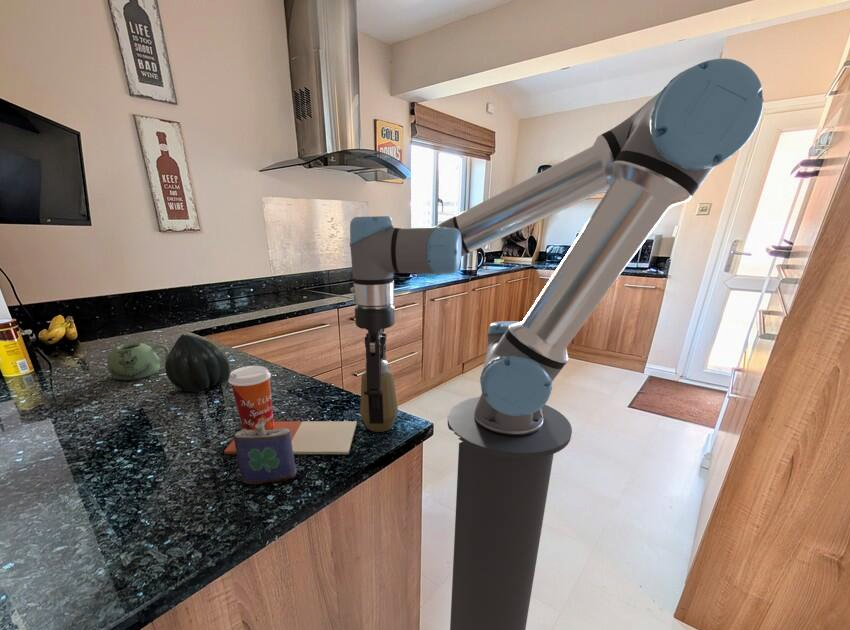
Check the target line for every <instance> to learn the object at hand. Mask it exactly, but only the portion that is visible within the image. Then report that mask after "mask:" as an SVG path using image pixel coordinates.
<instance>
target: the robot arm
mask: <svg viewBox="0 0 850 630" xmlns="http://www.w3.org/2000/svg"><path fill="white" fill-rule="evenodd" d="M763 96H764V92H763V85H762V82H761V80H760V78H759V77H758V75H757V73H756V72H755V71H754V70H753V69H752V68H751V66H749V65H747V64H745V63H744V62H742V61H740V60H736V59H731V58H714V59H709V60H705V61H702V62H699V63H697V64H695V65H693V66H692V67H691V66H690V67H689V68H687V69H685V70H683V71H681V72H680V73H678V74H677V75H676V76H674V77H673V78H672V79H671V80H670V81H669V82H668V83H667V84H666V85H665V86H663V89H662V90H660V91H659V92H658V93H656V94H655V95H654V96H652V98H650V99H649V100H648V101H647V102H646V103H645V104H643V105H642V106H641V107H640V108H639V109H638V110H637V111H635V112H634V113H632V114H631V115H630V116H629V117H627V118H626V119H625V120H624V121H622V122H621V123H619V124H618V125H616V126H615V127H613V128H610V129H609V130H607V131H605V132H603V133H602V134H600V135H598V136H597V137H596V138H595V140H594V143H593V144H592V145H591V146H589V147H588V148H586V149H584V150H582V151H580V152H578V153H576V154H574V155H572V156H569V158H566V159H564V160H562V161H560V162H558V163H557V164H555V165H552V166H550V167H549V168H547V169H545V170H542V171H541V172H539V173H537V174H535V175H532V176H531V177H529V178H527V179H525V180H523V181H521V182H519V183H517V184H515V185H514V186H511V187H509V188H507V189H506V190H503V191H502V192H499V193H498V194H496V195H494V196H492V197H490V198H488V199H486V200H484V201H482V202H480V203H477V204H476V205H474V206H472V207H470V208H468V209H466V210H464V211H462V212H460V213H459V214H457V215H455V216H453V217H451V218H449V219H446V220H445V221H442V222H440V223H438V224H437V225H434V226H429V227H411V228H410V227H407V228H406V227H405V228H401V227H394V225H393V219H392V217H390V216H389V215H381V216H380V215H379V216H376V215H375V216H374V215H373V216H355V217H353V218H351V221H350V223H349V224H350V225H349V229H350V230H349V239H350V240H349V248H350V258H351V259H350V260H351V271H352V283H353V285H352V287H350V289H349V291H350V293H352V294H354V295H353V300H354V304H355V305H356V306H355V308H354V323H355V326H356V327H357V328H358V329H363V330H364V329H365V330H366V331H367V332H366V333H365V336H364V347H365V370H366V369H367V391H364V395H367V396H368V400H369V418H370V424H383V423H384V418H383V392H382V390H381V371H382V360H385V361H387V355H386V351H387V333H386V332H385V329H389V328H392V327H393V326H395V320H396V319H395V306H394V305H393V304H394V303H395V280H394V279H395V278H394V274H425V275H426V274H427V275H436V276H441V275H447V274H448V275H449V274H456V273H457V272H458V271H459V269H460V265H461V260H462V257H464V256H466V255H468V254H471V253H472V252H474V251H477V250H479V249H481V248H484V247H486V246H488V245H490V244H493V243H494V242H496V241H498V240H501V239H502V238H505V237H507V236H509V235H511V234H514V233H516V232H519V231H520V230H523V229H525V228H528V227H529V226H531V225H533V224H535V223H538V222H540V221H542V220H544V219H546V218H548V217H551V216H553V215H555V214H558V213H560V212H562V211H564V210H566V209H568V208H570V207H573V206H575V205H578V204H579V203H582V202H584V201H586V200H588V199H591V198H593V197H595V196H597V195H599V194H601V193H603V192H605V193H604V196H603V197H602V198H601V200H600V202H599V203H598V204H597V207H596V208H595V210H594V211H593V212H592V214H591V215H590V217H589V218H588V220H587V222H585V224H584V226H583V228H582V229H581V231H580V232H579V234H578V235H577V237H576V239H575V240H574V242H573V243H572V245H571V246H570V248H569V249H568V251H567V252H566V254H565V256H563V258H562V260H561V261H560V263H559V264H558V266H557V268H556V269H555V271H554V272H553V274H552V275H551V277H550V278H549V280H548V281H547V283H546V285H545V286H544V288H543V289H542V291H541V292H540V293H539V295H538V296H537V298H536V300H535V302H534V303H533V305H532V306H531V307H530V309H529V311H528V312H527V314H526V315H525V317H524V318H523V320H522V321H514V320H513V321H512V320H511V321H509V320H507V321H505V320H504V321H495V322H492V323H490V325H489V326H488V331H487V333H486V337H487V345H486V354H485V359H484V363H483V369H482V371H481V373H480V379H479V380H480V381H479V382H480V389H481V394H480V396H479V397H480V399H479V401H478V403H477V406H476V408H475V412H474V420H475V422H476V424H477V425H478V426H479V427H481V428H482V429H484V430H486V431H488V432H490V433H493V434H497V435H501V436H507V437H523V436H529V435H532V434H535V433H537V432H538V431H540V430H541V428H542V425H543V411H542V407H543V406H544V405H547V402H548V401H549V399H550V396H551V394H552V390H553V382H554V380H555V379H556V377H557V376H558V375H559V374H560V373H561V371H562V370H563V368H564V367H565V365H566V364H567V363H568V361H569V354H568V346H569V345H570V344H571V342H572V341H573V340H574V338H575V337H576V335H577V334H578V333H579V331H580V330H581V328H582V327H583V326H584V325H585V323H586V322H587V321H588V319H589V318H590V316H591V315H592V313H593V312H594V311H595V310H596V308H597V307H598V306H599V304H600V303H601V302H602V300H603V298H605V296H606V294H607V293H608V292H609V291H610V289H611V288H612V286H613V285H614V284H615V283H616V281H617V280H618V278H619V277H620V275H621V274H622V273H623V272H624V270H625V269H626V267H627V266H628V264H629V263H630V262H631V261H632V259H633V258H634V257H635V255H636V254H637V253H638V251H639V250H640V249H641V247H642V246H643V245H644V243H645V242H646V240H647V239H648V238H649V236H650V235H651V234H652V232H653V231H654V230H655V228H656V227H657V225H658V224H659V223H660V221H661V220H662V219H663V217H664V216H665V214H666V213H667V212H668V211H669V209H671V208H673V207H674V206H678V205H681V204H684V203H686V202H689V201H690V200H691V198H693V196H694V194H696V192H697V190H698V189H699V188H700V187H701V185H702V184H703V183H704V181H705V180H706V179H707V177H708V176H709V175H710V174H711V172H712V171H713V170H714V168H715V167H716V166H719V165H721V164H723V163H725V162H726V161H727V160H729V159H730V158H731V157H733V156H734V155H735V154H736V153H737V152H739V151H740V150H741V149H742V148H743V147H744V146H745V145H746V144H747V143H748V141H749V140H750V139H751V138H752V135H754V133H755V131H756V129H757V127H758V125H759V123H760V121H761V119H762V114H763V109H764V102H765V101H764V100H765V99H764V97H763ZM388 368H389V369H390V366H389V365H388Z"/></svg>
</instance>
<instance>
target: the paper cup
mask: <svg viewBox="0 0 850 630" xmlns="http://www.w3.org/2000/svg"><path fill="white" fill-rule="evenodd" d="M271 377H272V373H271V372H270V371H269V369H268V368H267V367H266V366H262V365H247V366H242V367H239V368H236V369H234V370H232V371H230V375H229V378H228V383H229V384H230V385H231V389H232V393H233V395H234V400H235V405H236V408H237V412H238V415H239V419H240V423H241V425H242V429H246V430H251V431H254V430H255V429H256V428H255V426H256V424H262V423H260V422H265V423H266V424H265V425H264V428H265V430H274V420H275V419H274V410H273V400H272V389H271Z"/></svg>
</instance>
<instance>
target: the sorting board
mask: <svg viewBox="0 0 850 630" xmlns="http://www.w3.org/2000/svg"><path fill="white" fill-rule="evenodd" d="M357 426H358V421H356V420H354V421H350V420H349V421H346V420H344V421H343V420H340V421H338V420H334V421H331V420H330V421H328V420H327V421H326V420H325V421H323V420H322V421H320V420H318V421H317V420H316V421H313V420H312V421H311V420H309V421H306V420H305V421H296V420H295V421H293V420H292V421H288V420H287V421H285V420H284V421H283V420H281V421H279V420H278V421H274V430H275V429H281V428H287V429H289V430H290V433H291V442H292V449H293V455H350V451H351V447H352V444H353V440H354V436H355V433H356V429H357ZM242 430H244V429H243V428H242V429H240V431H242ZM223 454H224V455H237V452H236V447H235V442H234V439H232V441H231V442H230V444H229V445H227V447H226V448H225V449H224V450H223Z"/></svg>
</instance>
